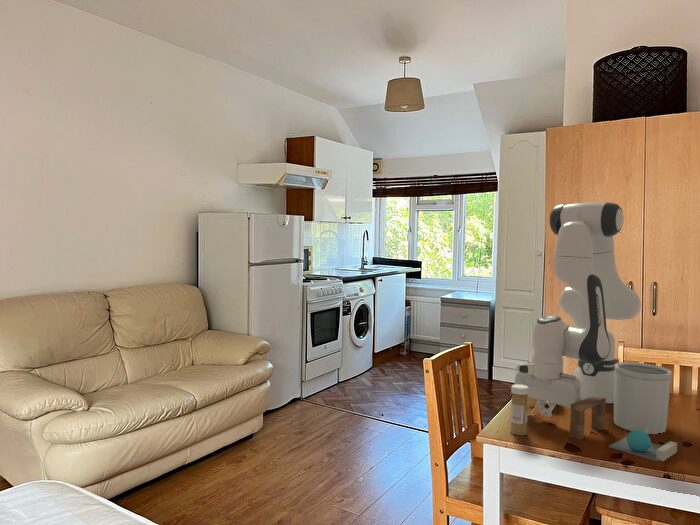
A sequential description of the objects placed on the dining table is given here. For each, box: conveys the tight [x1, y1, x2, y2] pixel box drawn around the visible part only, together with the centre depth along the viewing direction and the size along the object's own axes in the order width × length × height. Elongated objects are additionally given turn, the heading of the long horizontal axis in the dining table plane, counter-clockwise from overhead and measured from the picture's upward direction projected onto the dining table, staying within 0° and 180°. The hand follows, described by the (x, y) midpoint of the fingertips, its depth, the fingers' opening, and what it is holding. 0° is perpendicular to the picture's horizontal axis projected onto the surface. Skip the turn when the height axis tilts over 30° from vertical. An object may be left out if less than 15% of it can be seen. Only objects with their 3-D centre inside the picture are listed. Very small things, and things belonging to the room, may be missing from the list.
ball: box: [626, 430, 652, 452], centre depth 138 cm, size 6×6×6 cm
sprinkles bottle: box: [510, 384, 529, 436], centre depth 150 cm, size 5×5×13 cm
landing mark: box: [608, 436, 663, 463], centre depth 140 cm, size 12×12×1 cm
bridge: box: [569, 395, 607, 441], centre depth 151 cm, size 3×14×9 cm, turn 130°
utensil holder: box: [613, 361, 673, 435], centre depth 157 cm, size 15×15×18 cm
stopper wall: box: [656, 440, 678, 462], centre depth 135 cm, size 9×2×2 cm, turn 130°
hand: (545, 415), depth 161 cm, fingers closed
